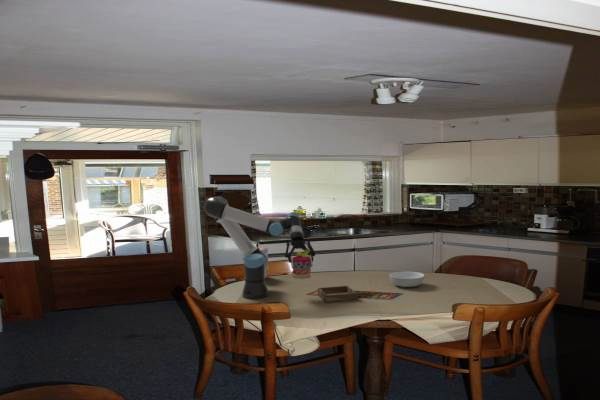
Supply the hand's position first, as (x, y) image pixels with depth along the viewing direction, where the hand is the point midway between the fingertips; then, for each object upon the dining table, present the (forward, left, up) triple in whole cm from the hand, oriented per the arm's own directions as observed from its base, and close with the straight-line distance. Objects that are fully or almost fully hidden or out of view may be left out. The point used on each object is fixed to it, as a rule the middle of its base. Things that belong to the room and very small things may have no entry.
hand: (302, 266), depth 260 cm
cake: (-2, 0, -6) cm, 7 cm away
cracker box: (-55, -17, -18) cm, 61 cm away
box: (+4, +19, -18) cm, 26 cm away
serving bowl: (-9, +67, -19) cm, 70 cm away
